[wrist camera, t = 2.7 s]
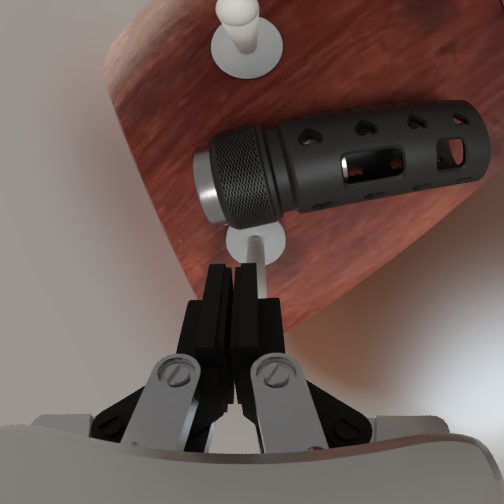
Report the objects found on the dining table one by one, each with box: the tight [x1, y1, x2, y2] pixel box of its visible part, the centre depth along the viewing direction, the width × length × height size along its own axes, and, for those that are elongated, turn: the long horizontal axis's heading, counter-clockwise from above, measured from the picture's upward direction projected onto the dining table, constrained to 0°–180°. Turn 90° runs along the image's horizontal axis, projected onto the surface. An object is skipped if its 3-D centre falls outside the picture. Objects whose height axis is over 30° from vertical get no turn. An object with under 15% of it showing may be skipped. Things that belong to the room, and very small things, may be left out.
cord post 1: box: [211, 0, 283, 79], centre depth 19 cm, size 7×7×20 cm
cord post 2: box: [226, 219, 286, 299], centre depth 30 cm, size 7×7×20 cm
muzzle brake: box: [193, 100, 490, 230], centre depth 28 cm, size 10×28×10 cm, turn 104°
